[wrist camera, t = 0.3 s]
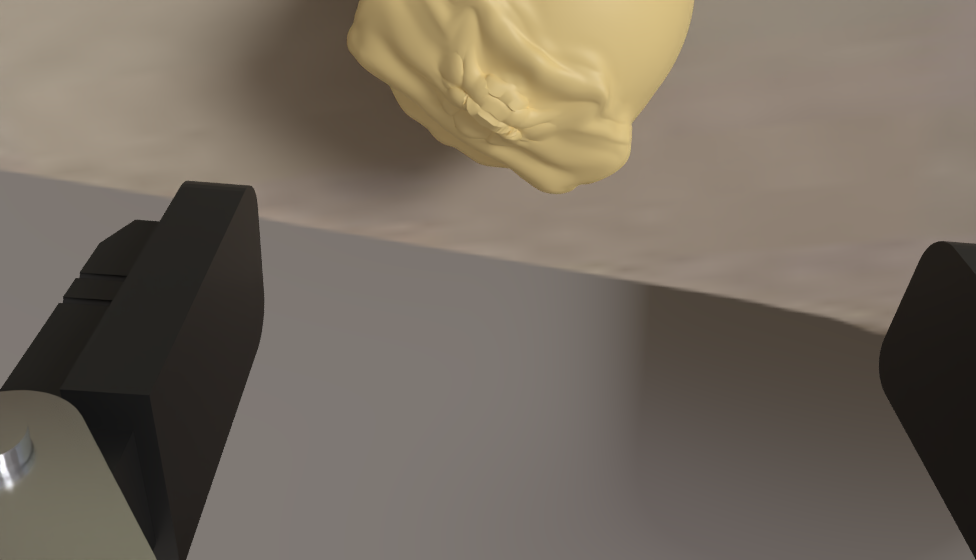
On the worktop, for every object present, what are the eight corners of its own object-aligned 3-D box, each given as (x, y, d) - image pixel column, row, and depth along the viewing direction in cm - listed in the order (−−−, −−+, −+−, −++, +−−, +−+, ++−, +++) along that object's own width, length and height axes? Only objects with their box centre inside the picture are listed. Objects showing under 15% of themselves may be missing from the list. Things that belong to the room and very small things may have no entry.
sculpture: (334, -1, 37) (286, 99, 28) (507, -261, 32) (515, -238, 23) (539, 147, 41) (554, 275, 32) (724, -62, 36) (802, 23, 27)
